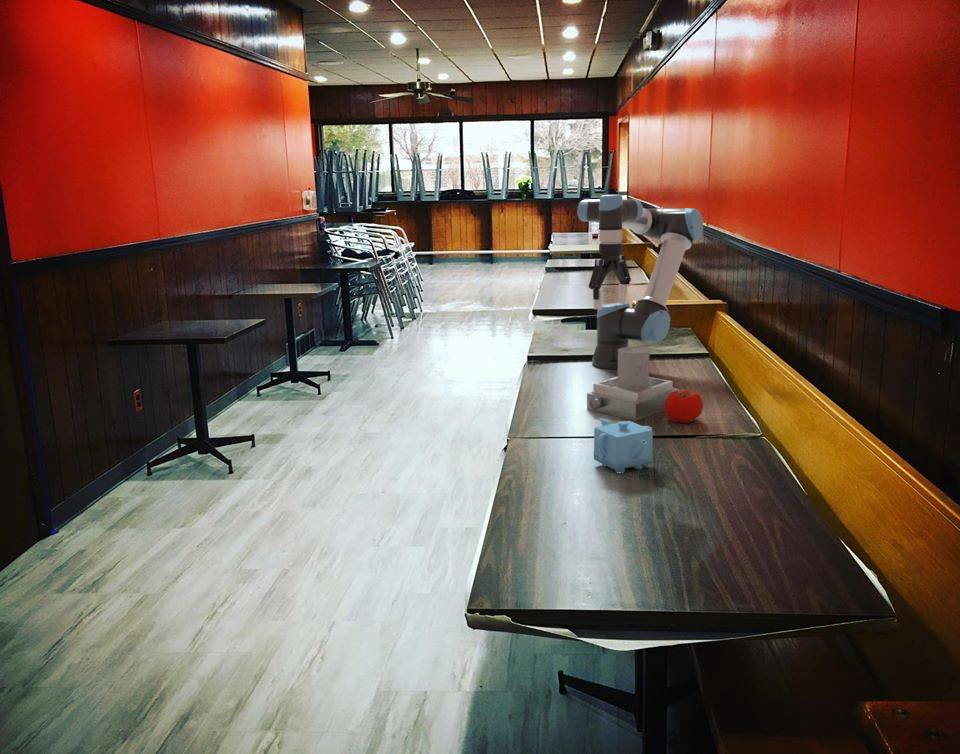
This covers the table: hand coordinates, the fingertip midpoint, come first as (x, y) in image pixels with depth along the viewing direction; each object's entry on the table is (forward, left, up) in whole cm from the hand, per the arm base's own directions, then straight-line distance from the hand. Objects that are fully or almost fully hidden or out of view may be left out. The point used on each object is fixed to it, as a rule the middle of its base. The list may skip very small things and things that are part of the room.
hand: (610, 306), depth 268 cm
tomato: (+21, +43, -27) cm, 55 cm away
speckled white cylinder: (+19, +24, -21) cm, 37 cm away
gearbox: (+21, +24, -27) cm, 41 cm away
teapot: (+62, +52, -27) cm, 85 cm away
